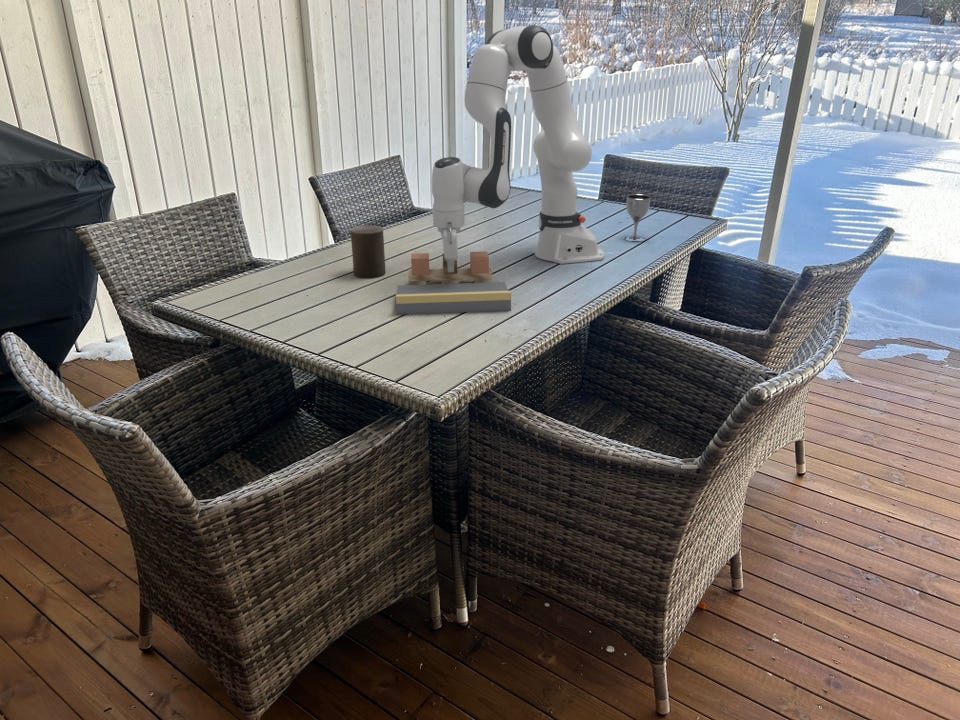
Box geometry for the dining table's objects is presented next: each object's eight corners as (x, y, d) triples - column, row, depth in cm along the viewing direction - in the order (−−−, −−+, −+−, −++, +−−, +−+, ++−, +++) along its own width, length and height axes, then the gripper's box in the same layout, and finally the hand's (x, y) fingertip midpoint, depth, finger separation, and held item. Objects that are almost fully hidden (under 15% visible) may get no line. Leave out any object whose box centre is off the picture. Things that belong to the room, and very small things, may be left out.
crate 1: (429, 269, 197) (428, 253, 194) (429, 275, 192) (428, 258, 190) (412, 270, 196) (411, 253, 194) (411, 275, 192) (411, 258, 190)
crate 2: (487, 267, 198) (487, 251, 196) (488, 273, 193) (488, 256, 191) (470, 268, 198) (470, 251, 195) (471, 273, 193) (471, 257, 191)
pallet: (490, 280, 200) (490, 251, 196) (492, 286, 195) (492, 256, 191) (409, 283, 198) (407, 253, 194) (409, 289, 193) (407, 259, 189)
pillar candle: (371, 280, 200) (368, 230, 194) (347, 274, 205) (343, 225, 199) (392, 271, 208) (389, 223, 201) (368, 266, 212) (364, 219, 206)
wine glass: (621, 241, 236) (625, 198, 230) (625, 235, 243) (629, 193, 236) (644, 243, 234) (648, 200, 227) (647, 237, 240) (652, 195, 234)
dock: (504, 292, 191) (504, 275, 189) (510, 310, 179) (511, 292, 176) (398, 295, 189) (397, 278, 187) (396, 314, 176) (395, 296, 174)
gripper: (462, 228, 179) (463, 277, 185) (458, 209, 197) (458, 255, 203) (438, 228, 179) (440, 278, 185) (436, 210, 197) (438, 256, 203)
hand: (450, 266), depth 194 cm, fingers open, 8 cm apart
